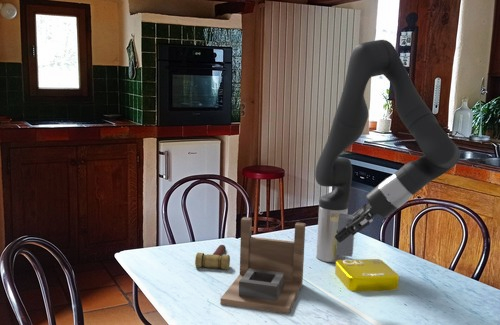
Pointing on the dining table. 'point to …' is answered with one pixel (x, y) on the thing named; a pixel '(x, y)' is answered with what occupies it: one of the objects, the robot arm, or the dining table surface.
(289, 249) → the wooden peg insertion stand
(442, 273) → the dining table surface
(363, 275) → the element tile
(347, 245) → the tan-topped grey pillar
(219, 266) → the gavel
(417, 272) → the dining table surface
